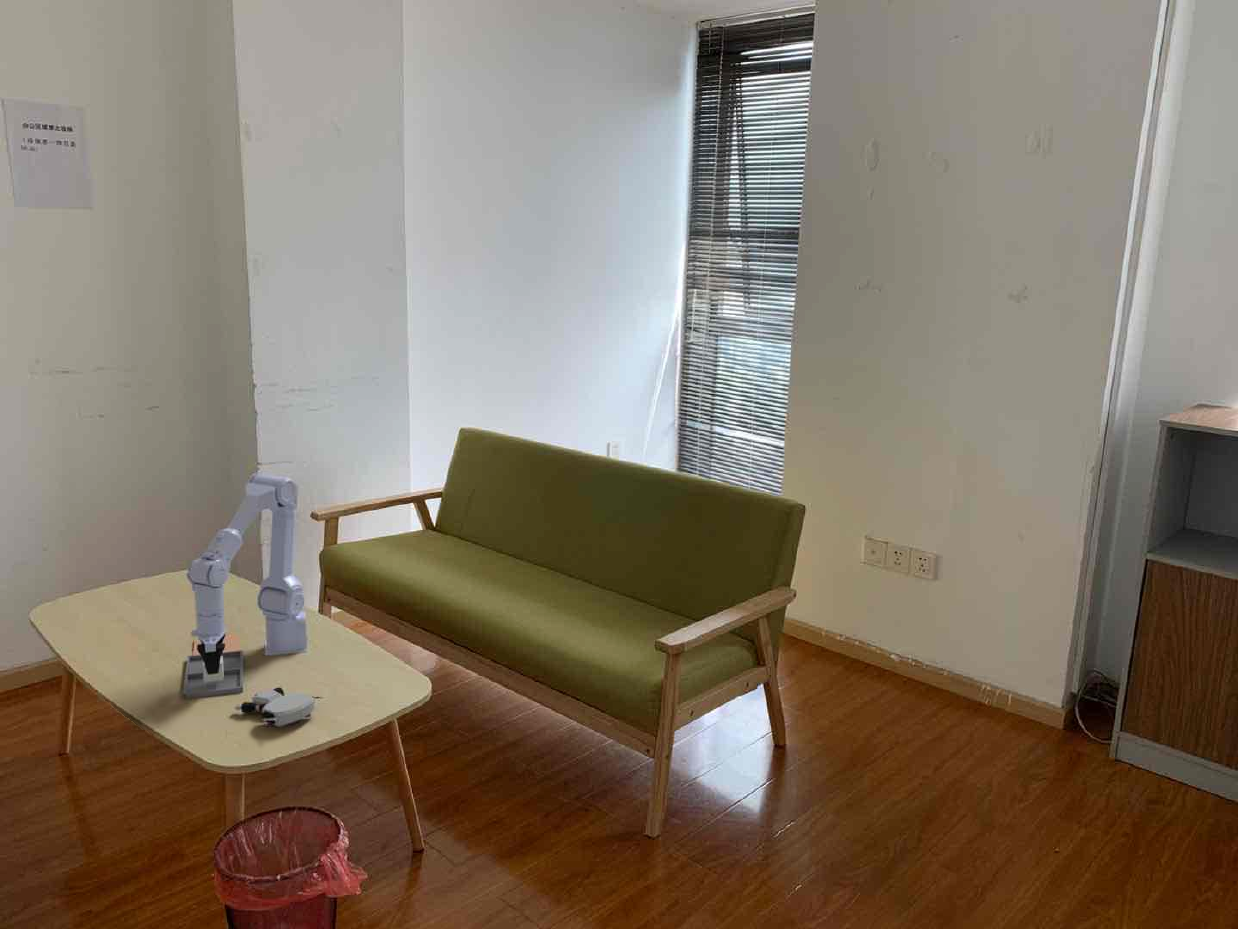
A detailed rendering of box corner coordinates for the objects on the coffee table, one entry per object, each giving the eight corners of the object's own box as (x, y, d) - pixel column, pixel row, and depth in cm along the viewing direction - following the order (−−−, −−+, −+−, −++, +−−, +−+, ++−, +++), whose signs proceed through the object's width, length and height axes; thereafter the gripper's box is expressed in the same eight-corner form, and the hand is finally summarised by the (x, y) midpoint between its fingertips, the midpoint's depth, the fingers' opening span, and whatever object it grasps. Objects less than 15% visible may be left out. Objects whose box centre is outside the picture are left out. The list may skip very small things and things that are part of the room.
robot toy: (231, 720, 199) (279, 737, 191) (229, 700, 198) (277, 716, 190) (279, 698, 209) (326, 714, 201) (278, 679, 208) (325, 694, 200)
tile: (238, 636, 237) (238, 634, 237) (238, 653, 228) (238, 650, 228) (195, 641, 233) (194, 638, 233) (193, 657, 224) (192, 655, 224)
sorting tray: (242, 656, 226) (242, 650, 226) (243, 693, 208) (242, 687, 208) (188, 661, 222) (187, 655, 222) (183, 700, 204) (182, 694, 204)
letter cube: (223, 672, 213) (222, 655, 212) (223, 680, 209) (222, 663, 208) (204, 674, 211) (203, 657, 210) (203, 682, 208) (202, 665, 207)
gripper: (191, 601, 212) (195, 657, 215) (188, 626, 199) (191, 685, 202) (225, 598, 214) (228, 653, 217) (224, 622, 201) (227, 681, 204)
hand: (213, 668), depth 210 cm, fingers closed on letter cube, 4 cm apart
